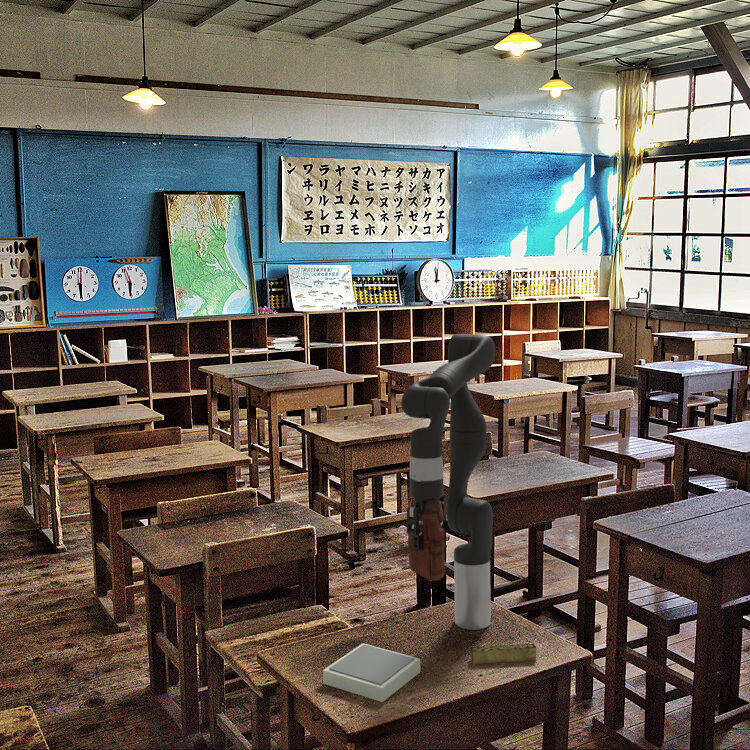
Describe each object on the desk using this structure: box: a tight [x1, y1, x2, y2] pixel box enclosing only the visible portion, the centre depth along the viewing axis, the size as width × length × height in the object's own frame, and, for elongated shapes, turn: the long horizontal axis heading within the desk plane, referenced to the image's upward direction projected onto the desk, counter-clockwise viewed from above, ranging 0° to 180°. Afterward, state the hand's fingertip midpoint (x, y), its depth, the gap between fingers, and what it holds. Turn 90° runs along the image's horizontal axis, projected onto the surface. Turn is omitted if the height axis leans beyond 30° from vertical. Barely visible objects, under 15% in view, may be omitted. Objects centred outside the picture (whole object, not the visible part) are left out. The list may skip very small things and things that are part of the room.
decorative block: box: [470, 643, 537, 665], centre depth 207 cm, size 15×2×4 cm, turn 94°
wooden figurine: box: [407, 498, 446, 582], centre depth 197 cm, size 12×6×18 cm, turn 29°
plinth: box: [322, 642, 421, 703], centre depth 199 cm, size 16×16×4 cm
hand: (427, 545), depth 197 cm, fingers closed on wooden figurine, 8 cm apart
